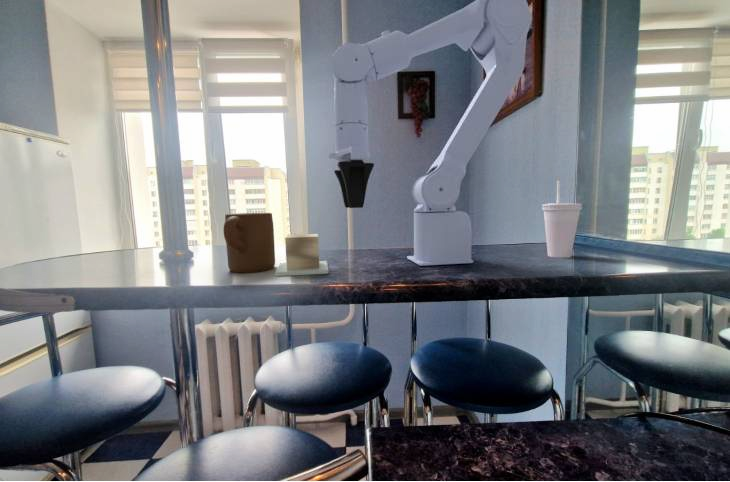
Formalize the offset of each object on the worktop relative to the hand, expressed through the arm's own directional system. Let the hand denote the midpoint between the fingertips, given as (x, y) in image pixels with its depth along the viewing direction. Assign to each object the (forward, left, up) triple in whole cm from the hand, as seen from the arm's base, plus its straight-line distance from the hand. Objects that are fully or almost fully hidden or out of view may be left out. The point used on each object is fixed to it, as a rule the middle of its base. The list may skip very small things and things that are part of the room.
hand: (353, 207), depth 56 cm
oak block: (+9, +3, -9) cm, 13 cm away
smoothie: (-38, +3, -10) cm, 39 cm away
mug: (+18, +2, -10) cm, 21 cm away
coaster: (+9, +3, -10) cm, 14 cm away
